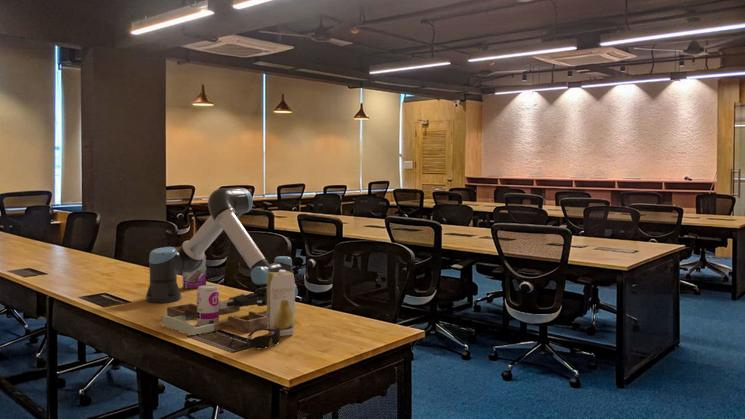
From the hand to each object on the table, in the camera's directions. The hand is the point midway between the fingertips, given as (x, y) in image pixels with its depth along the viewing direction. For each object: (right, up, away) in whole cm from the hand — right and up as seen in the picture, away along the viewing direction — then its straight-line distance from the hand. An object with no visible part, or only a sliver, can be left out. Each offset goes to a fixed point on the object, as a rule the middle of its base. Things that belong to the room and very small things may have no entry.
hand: (218, 305), depth 237 cm
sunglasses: (+19, -10, -25) cm, 33 cm away
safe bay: (-10, -7, -8) cm, 14 cm away
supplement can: (-4, -7, -2) cm, 8 cm away
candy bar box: (-29, -2, +67) cm, 74 cm away
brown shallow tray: (+1, -7, +5) cm, 8 cm away
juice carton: (+26, -9, -14) cm, 31 cm away
